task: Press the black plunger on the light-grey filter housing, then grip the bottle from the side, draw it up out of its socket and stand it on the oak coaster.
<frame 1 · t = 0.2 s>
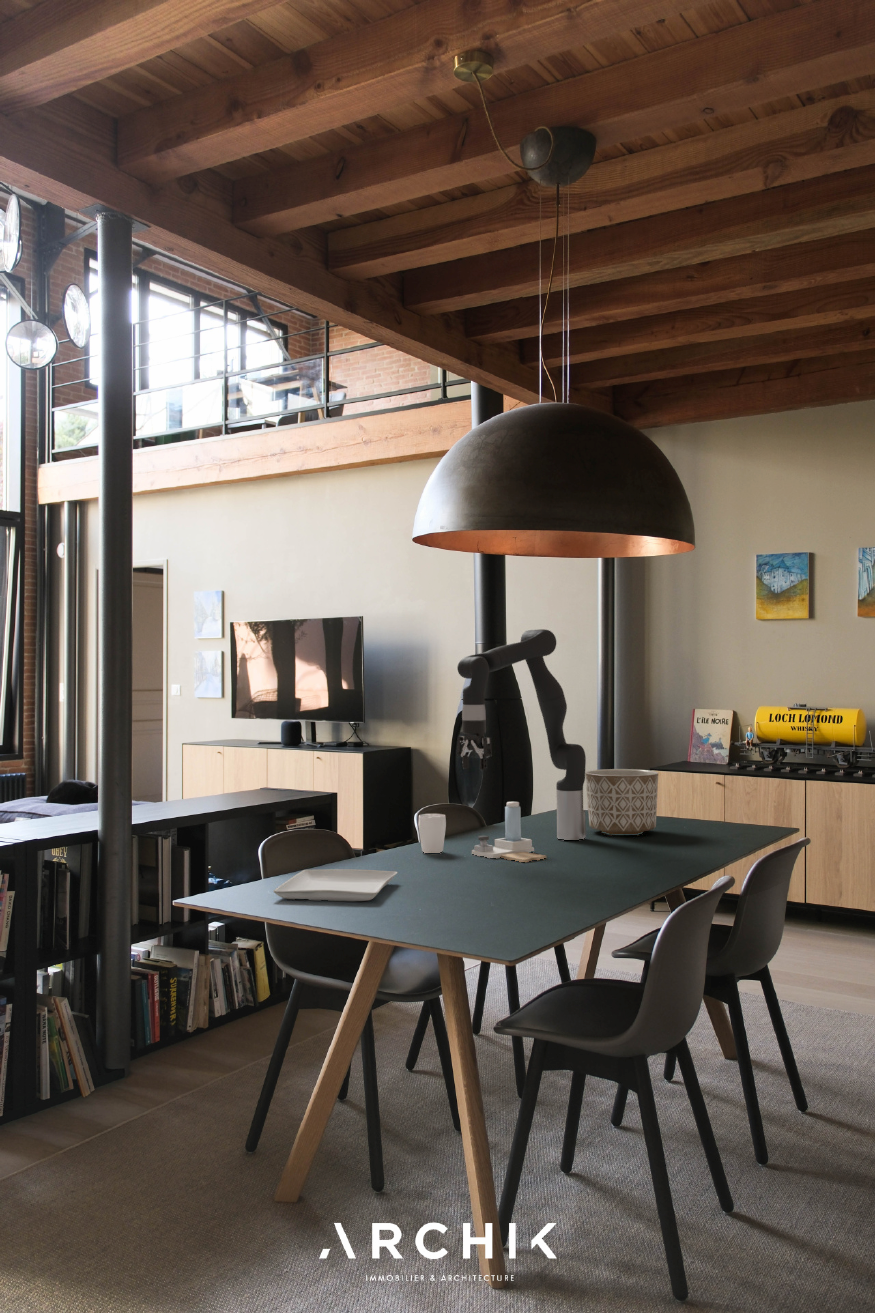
hand: (474, 769, 317), 27 cm above the table, tool pointing down, fingers open, 8 cm apart
coaster: (523, 858, 308), on the table
planter: (622, 833, 357), on the table
square plate: (338, 894, 262), on the table
cup: (432, 853, 321), on the table
housing: (503, 853, 317), on the table
bottle: (513, 847, 320), point 2 cm above the table, touching housing
plunger: (483, 842, 315), point 4 cm above the table, slide at 0.0 cm
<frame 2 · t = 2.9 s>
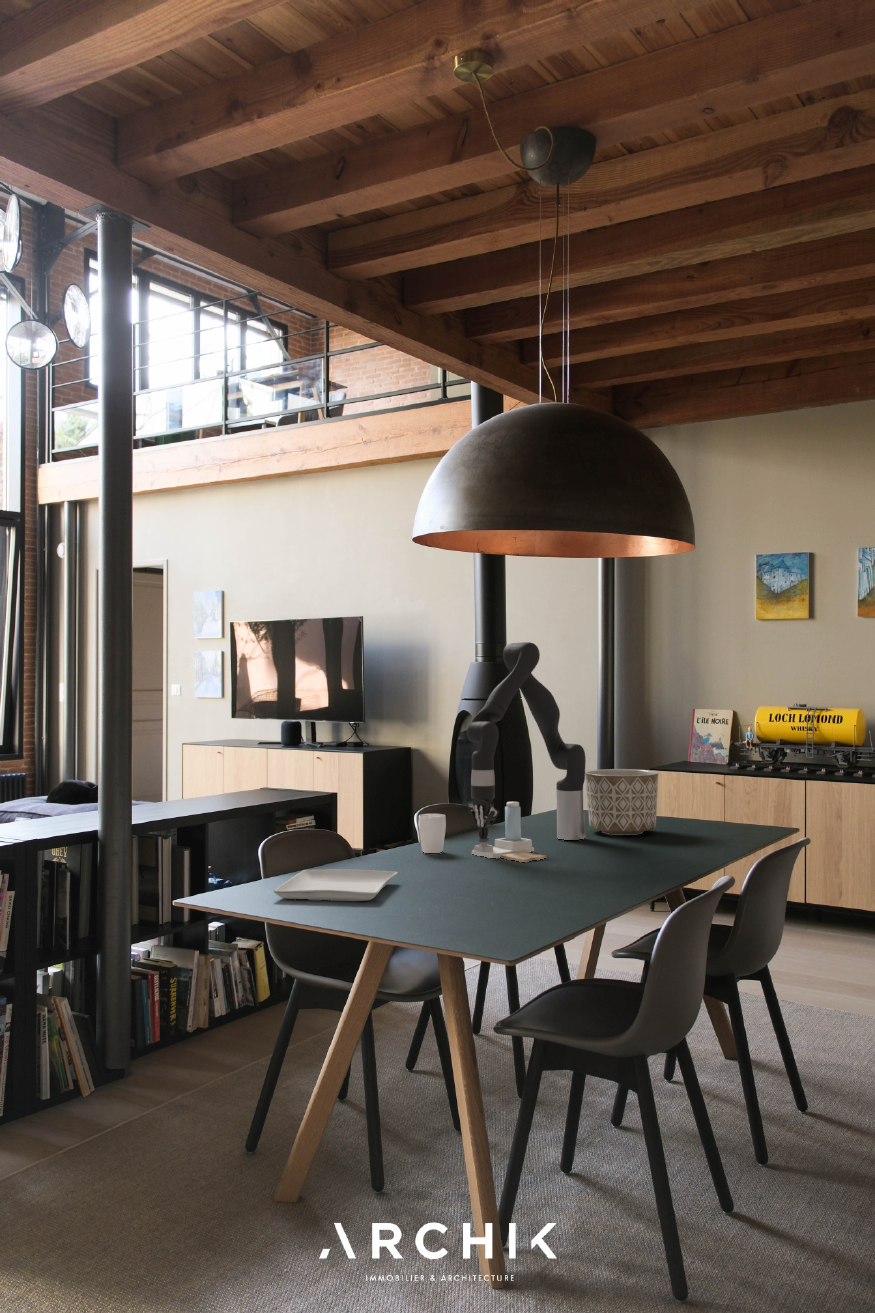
hand: (483, 838, 315), 5 cm above the table, tool pointing down, fingers closed
plunger: (483, 844, 315), point 3 cm above the table, slide at -0.5 cm, touching gripper, housing
everything else where it was.
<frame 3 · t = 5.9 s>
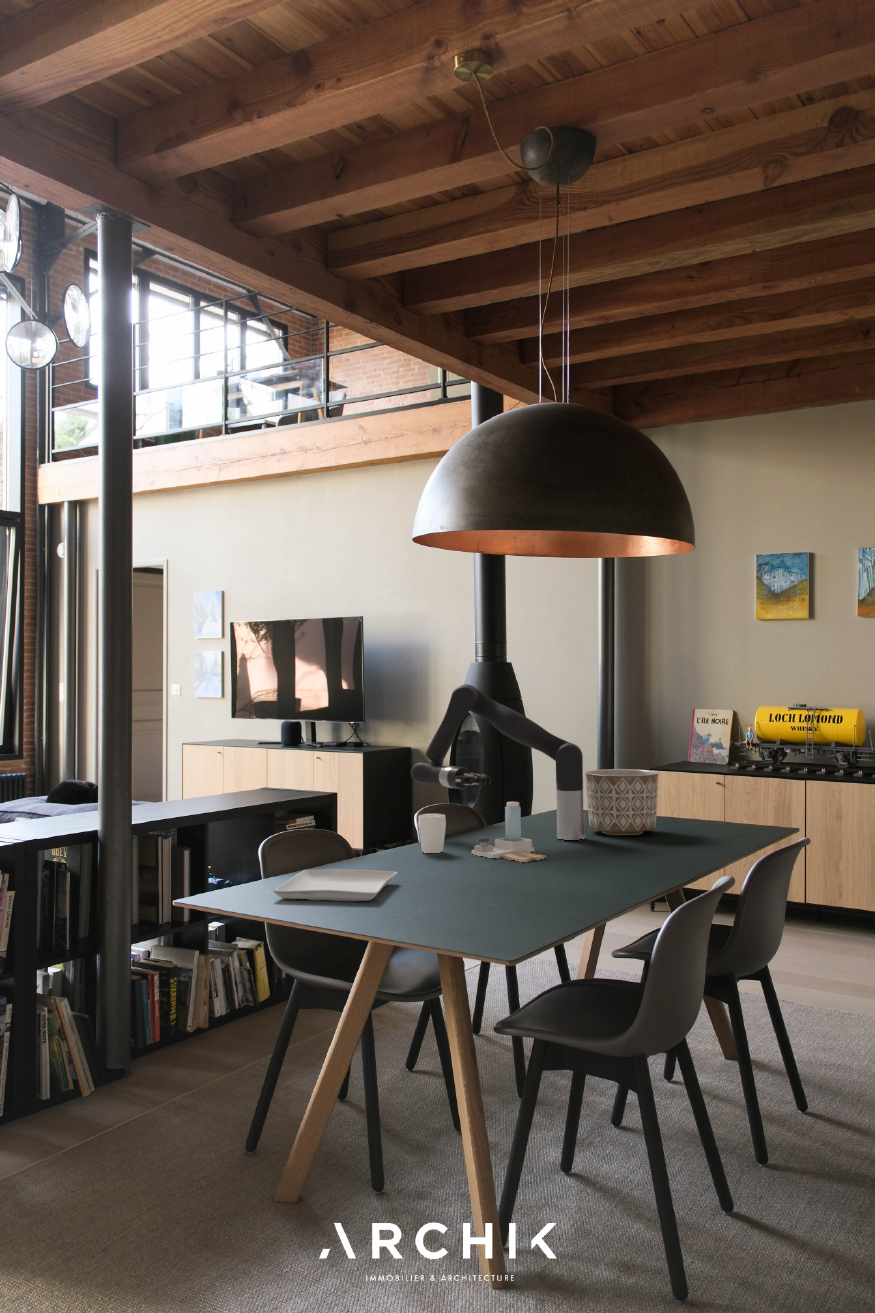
hand: (487, 781, 330), 22 cm above the table, tool horizontal, fingers closed
plunger: (483, 844, 315), point 3 cm above the table, slide at -0.5 cm, touching housing
everything else where it was.
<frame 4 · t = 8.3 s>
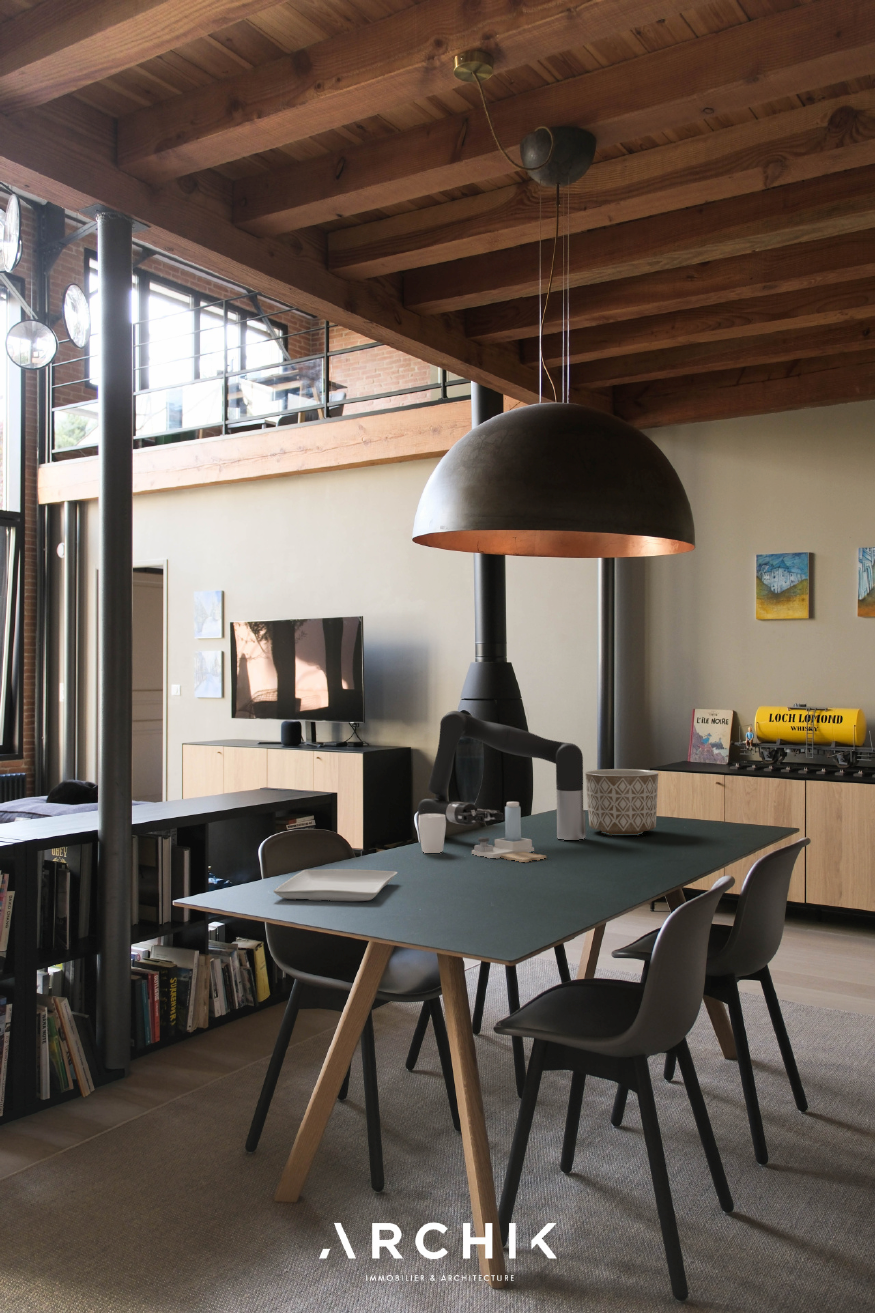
hand: (493, 818, 328), 10 cm above the table, tool horizontal, fingers open, 8 cm apart
nothing on the table moved.
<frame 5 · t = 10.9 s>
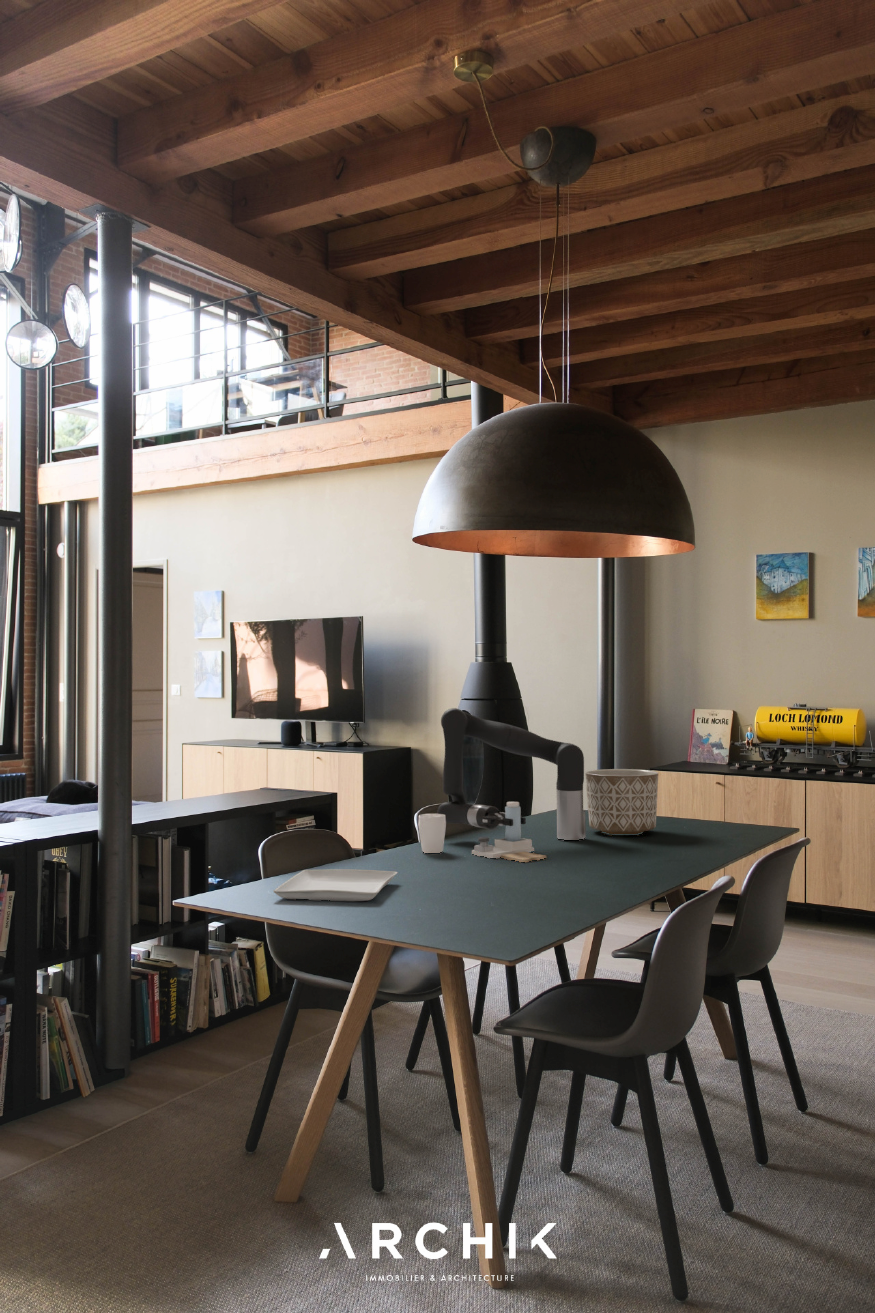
hand: (518, 821, 319), 10 cm above the table, tool horizontal, fingers closed on bottle, 5 cm apart
bottle: (513, 847, 320), point 2 cm above the table, touching gripper, housing
everything else where it was.
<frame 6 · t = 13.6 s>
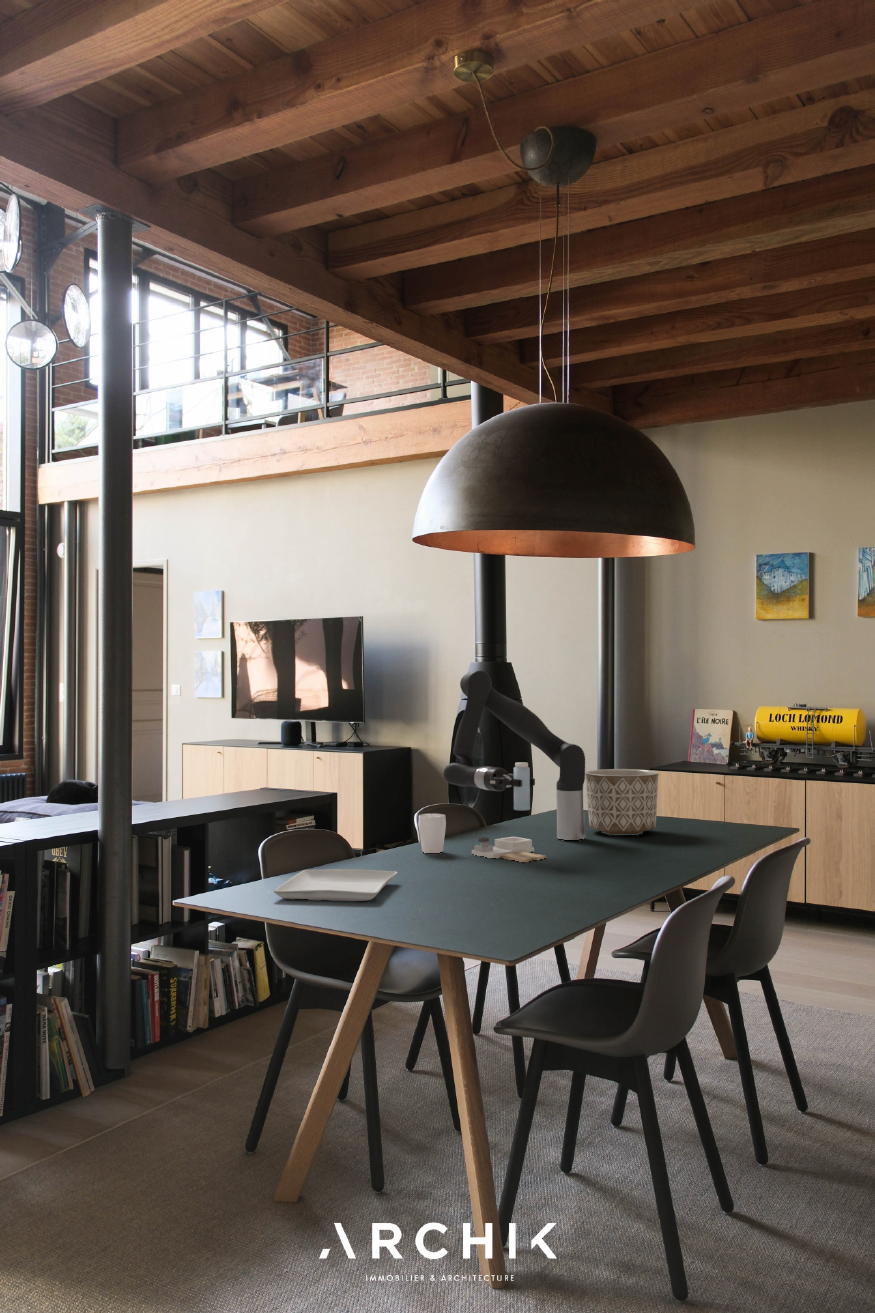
hand: (527, 782, 307), 24 cm above the table, tool horizontal, fingers closed on bottle, 5 cm apart
bottle: (521, 809, 308), point 15 cm above the table, touching gripper
everything else where it was.
when the fingers open (11 cm above the table, at t = 16.5 s): bottle drops 1 cm, resting on coaster.
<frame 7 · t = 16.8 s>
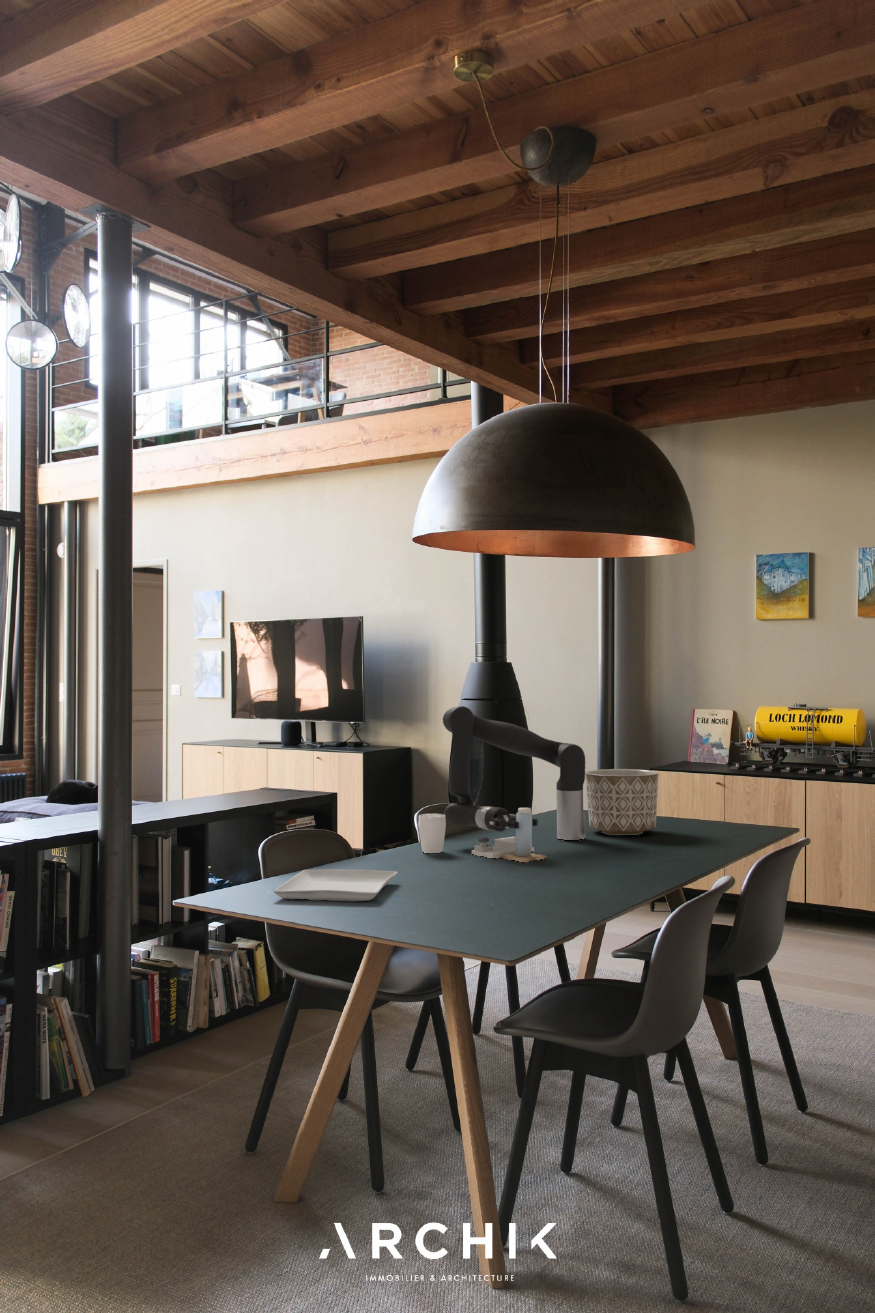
hand: (527, 823, 307), 11 cm above the table, tool horizontal, fingers open, 7 cm apart
bottle: (523, 855, 308), point 1 cm above the table, touching coaster
everything else where it was.
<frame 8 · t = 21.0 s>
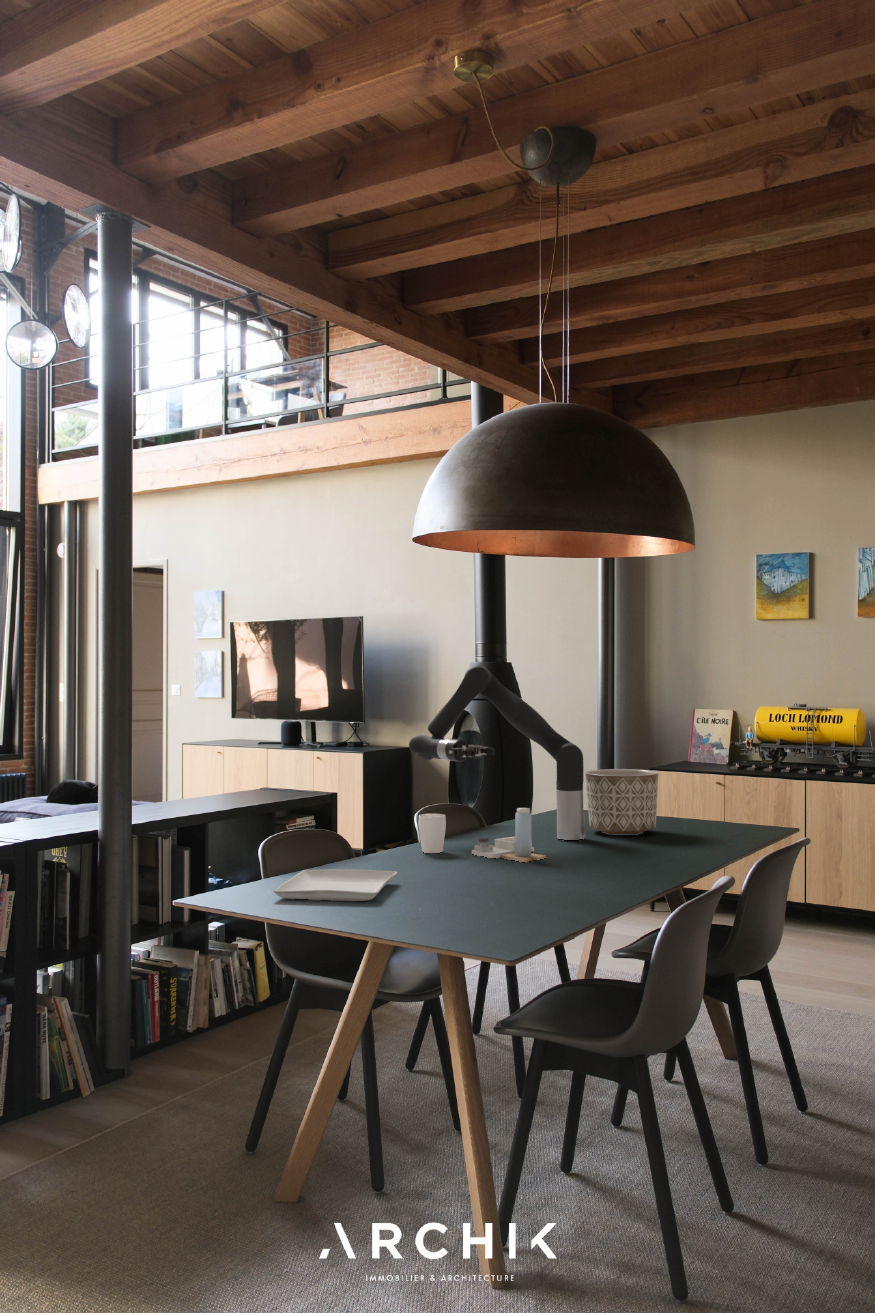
hand: (484, 752, 326), 32 cm above the table, tool horizontal, fingers open, 8 cm apart
nothing on the table moved.
at the end: bottle inside the target area on the coaster (0.1 cm from its centre), point 1.0 cm above the coaster's base; bottle tilted 1°; the gripper is holding nothing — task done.
